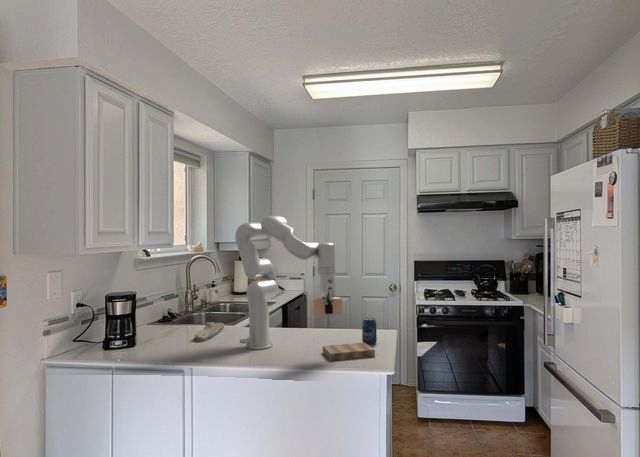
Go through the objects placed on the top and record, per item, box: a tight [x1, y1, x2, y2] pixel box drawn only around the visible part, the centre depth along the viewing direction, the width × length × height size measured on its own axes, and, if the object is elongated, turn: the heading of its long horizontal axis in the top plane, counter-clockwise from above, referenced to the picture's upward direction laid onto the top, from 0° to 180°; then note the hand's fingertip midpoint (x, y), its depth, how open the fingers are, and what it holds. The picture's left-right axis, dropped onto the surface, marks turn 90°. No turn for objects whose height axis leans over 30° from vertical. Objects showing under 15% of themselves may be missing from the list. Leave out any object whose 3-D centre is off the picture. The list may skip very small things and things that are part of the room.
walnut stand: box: [322, 342, 376, 362], centre depth 193 cm, size 20×13×3 cm, turn 105°
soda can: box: [361, 317, 378, 346], centre depth 211 cm, size 7×7×12 cm
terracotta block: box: [312, 296, 343, 317], centre depth 190 cm, size 4×12×7 cm, turn 105°
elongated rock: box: [193, 321, 225, 343], centre depth 237 cm, size 35×5×10 cm
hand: (327, 312), depth 190 cm, fingers closed on terracotta block, 4 cm apart
